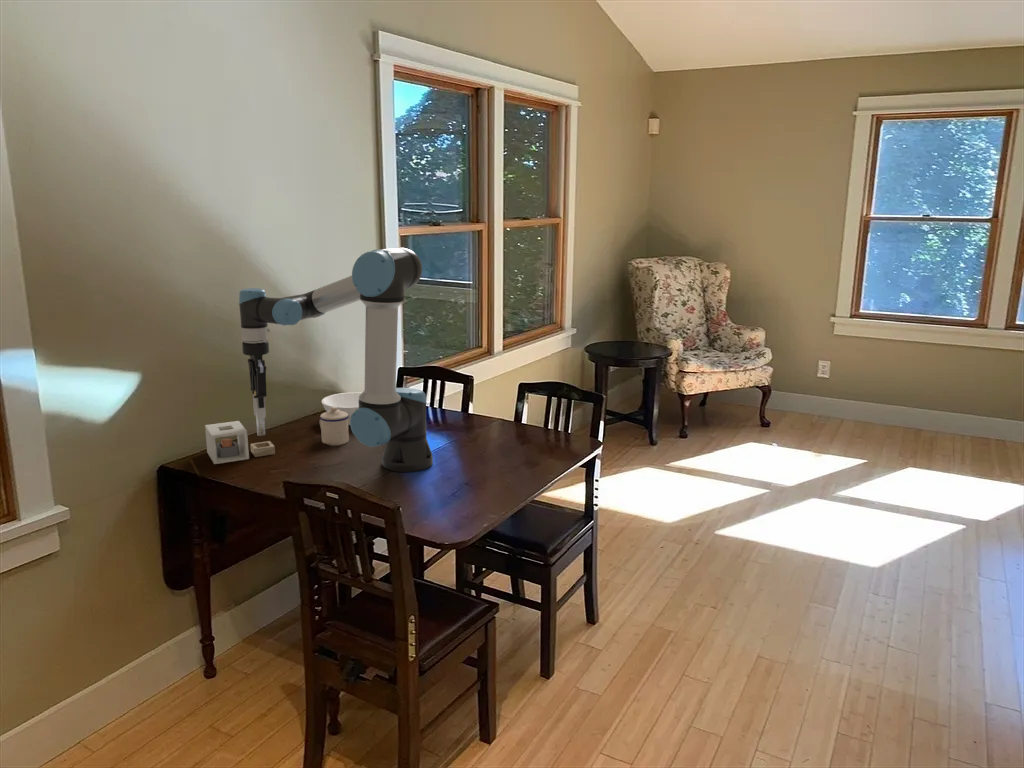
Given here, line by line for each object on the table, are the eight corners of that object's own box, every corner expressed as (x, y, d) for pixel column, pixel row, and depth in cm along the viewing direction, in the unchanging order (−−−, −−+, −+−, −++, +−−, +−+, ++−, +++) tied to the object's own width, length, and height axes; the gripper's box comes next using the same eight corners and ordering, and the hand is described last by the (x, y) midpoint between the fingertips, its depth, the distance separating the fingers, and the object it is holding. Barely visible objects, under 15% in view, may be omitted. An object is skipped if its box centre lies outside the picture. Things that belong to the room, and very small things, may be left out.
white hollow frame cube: (249, 460, 238) (247, 430, 236) (214, 465, 233) (211, 435, 231) (240, 449, 248) (238, 420, 246) (207, 454, 243) (204, 425, 241)
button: (233, 452, 240) (232, 440, 239) (223, 454, 238) (222, 441, 237) (231, 450, 242) (230, 437, 241) (221, 451, 241) (220, 439, 240)
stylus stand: (275, 455, 243) (274, 446, 242) (255, 458, 240) (254, 449, 239) (270, 450, 248) (269, 440, 247) (250, 452, 245) (250, 443, 244)
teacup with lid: (355, 441, 257) (354, 407, 255) (332, 448, 251) (331, 412, 248) (332, 434, 265) (330, 400, 262) (309, 440, 258) (308, 406, 255)
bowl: (350, 434, 265) (349, 411, 263) (309, 422, 277) (308, 400, 275) (395, 420, 281) (394, 398, 279) (355, 410, 293) (354, 389, 291)
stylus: (266, 435, 242) (263, 391, 239) (257, 436, 241) (255, 391, 237) (264, 432, 244) (261, 389, 241) (256, 433, 243) (253, 390, 239)
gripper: (274, 344, 231) (278, 421, 236) (262, 335, 244) (266, 408, 249) (247, 346, 227) (253, 424, 233) (236, 337, 240) (242, 411, 246)
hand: (260, 416), depth 241 cm, fingers closed on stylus, 2 cm apart
